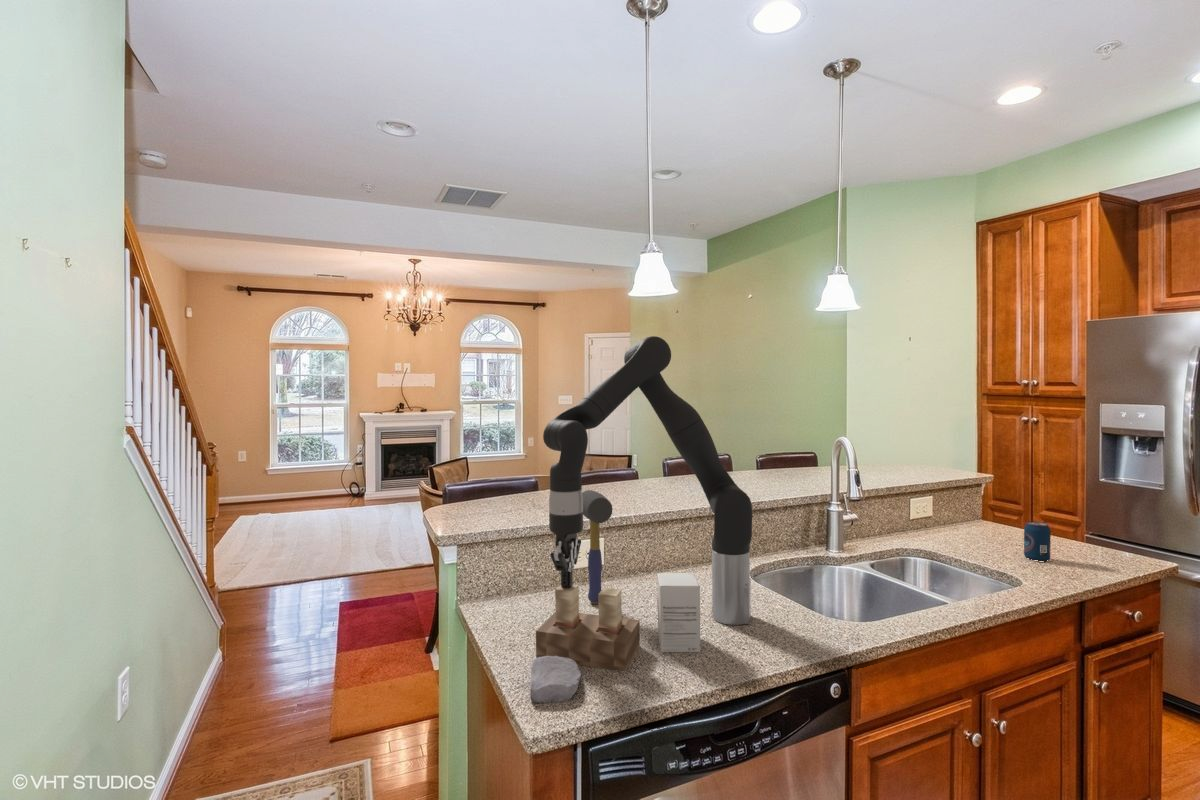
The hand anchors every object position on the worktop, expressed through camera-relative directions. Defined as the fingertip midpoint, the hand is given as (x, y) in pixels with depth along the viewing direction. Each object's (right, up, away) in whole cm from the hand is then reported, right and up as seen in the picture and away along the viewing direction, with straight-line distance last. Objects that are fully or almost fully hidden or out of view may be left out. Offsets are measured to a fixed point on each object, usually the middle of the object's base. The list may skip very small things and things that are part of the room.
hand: (567, 587), depth 129 cm
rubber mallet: (+6, -13, +28) cm, 31 cm away
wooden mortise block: (+5, -14, -1) cm, 15 cm away
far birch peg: (0, -13, 0) cm, 13 cm away
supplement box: (+25, -14, +3) cm, 29 cm away
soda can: (+151, -11, +61) cm, 163 cm away
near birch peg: (+10, -13, -3) cm, 16 cm away
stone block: (-1, -15, -15) cm, 21 cm away
